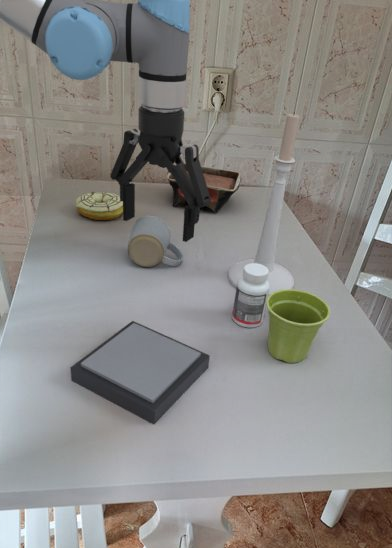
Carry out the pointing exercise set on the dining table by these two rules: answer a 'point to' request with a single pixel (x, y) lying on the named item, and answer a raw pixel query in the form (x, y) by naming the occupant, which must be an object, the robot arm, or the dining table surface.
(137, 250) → the ceramic mug
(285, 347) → the plant pot
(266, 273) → the pill bottle
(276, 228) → the candlestick
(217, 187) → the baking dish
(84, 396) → the dining table surface
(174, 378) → the scale
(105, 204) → the decorated donut
